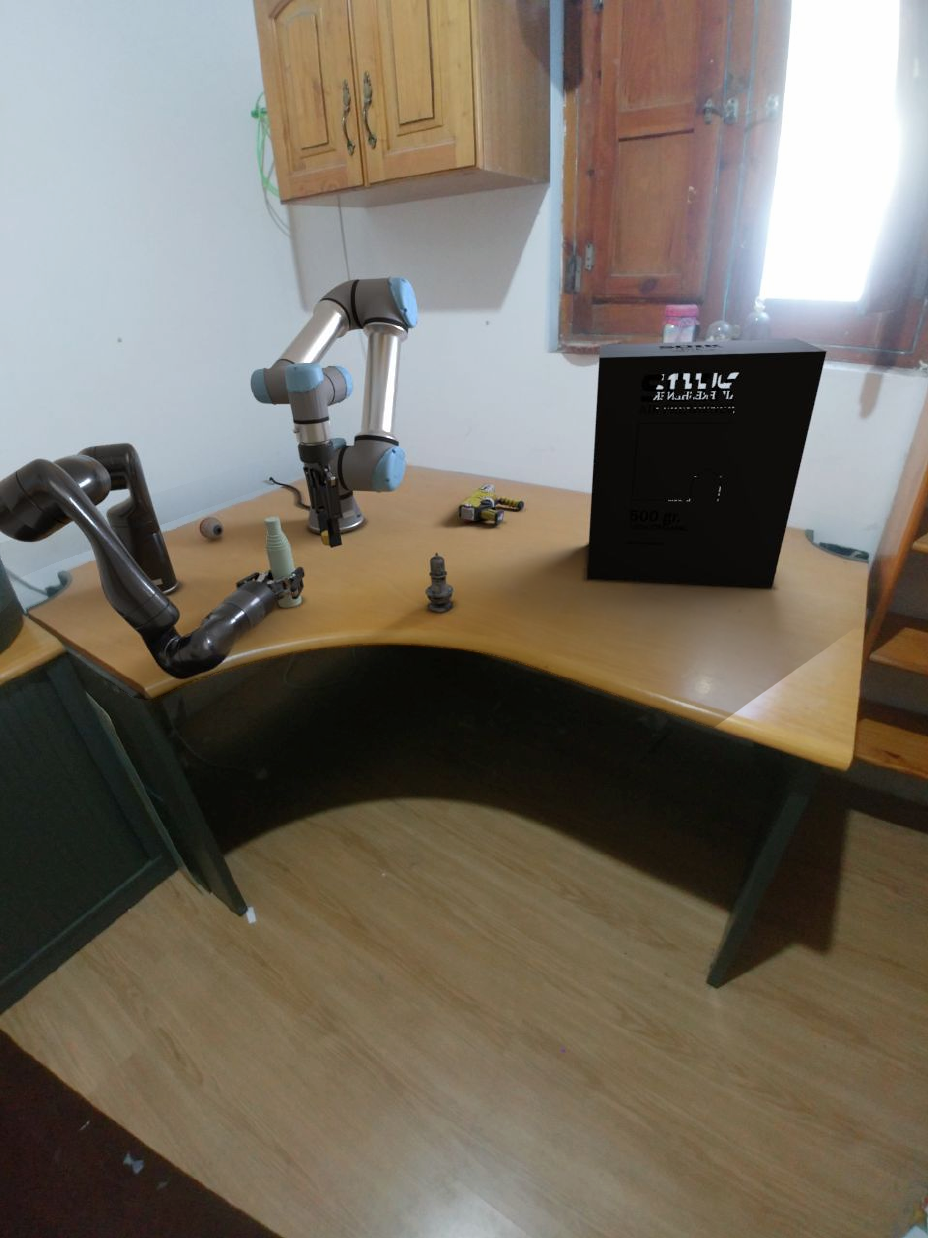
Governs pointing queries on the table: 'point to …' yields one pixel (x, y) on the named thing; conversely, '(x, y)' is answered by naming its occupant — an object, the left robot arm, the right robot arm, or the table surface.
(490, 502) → the toy gun
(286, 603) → the bottle
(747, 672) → the table surface
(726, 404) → the cardboard box
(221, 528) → the eyeball
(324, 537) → the cap
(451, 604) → the grey chess piece
